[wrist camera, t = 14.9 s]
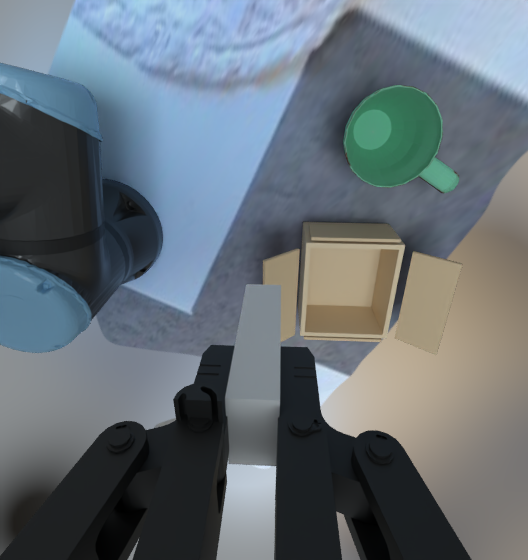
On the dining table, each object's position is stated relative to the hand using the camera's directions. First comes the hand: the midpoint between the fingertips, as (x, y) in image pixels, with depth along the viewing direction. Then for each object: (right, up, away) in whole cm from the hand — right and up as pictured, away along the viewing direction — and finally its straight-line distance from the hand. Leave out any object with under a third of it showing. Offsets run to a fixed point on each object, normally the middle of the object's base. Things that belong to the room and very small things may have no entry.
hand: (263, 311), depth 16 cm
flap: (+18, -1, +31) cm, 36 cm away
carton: (+12, +3, +39) cm, 41 cm away
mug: (+16, +19, +30) cm, 39 cm away
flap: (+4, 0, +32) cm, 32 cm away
